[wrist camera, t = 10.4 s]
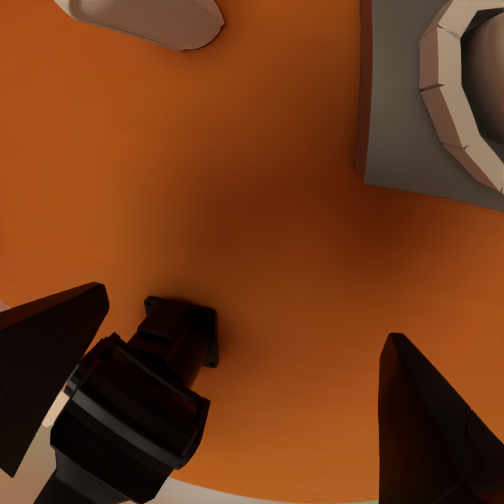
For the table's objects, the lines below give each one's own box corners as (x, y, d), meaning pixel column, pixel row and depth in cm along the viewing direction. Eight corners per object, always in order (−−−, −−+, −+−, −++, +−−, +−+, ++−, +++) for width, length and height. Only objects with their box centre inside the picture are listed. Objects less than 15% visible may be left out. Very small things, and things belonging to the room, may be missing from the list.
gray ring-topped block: (527, 205, 14) (588, 247, 8) (353, 167, 17) (371, 197, 10) (536, 51, 9) (599, 42, 3) (359, -11, 12) (372, -72, 5)
